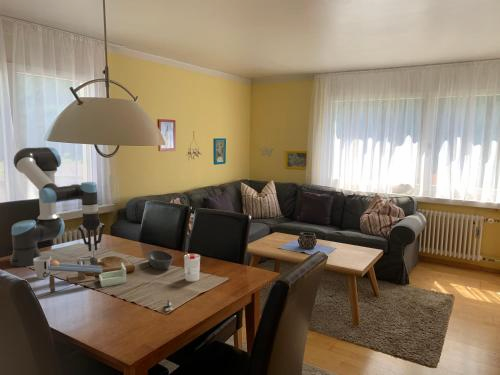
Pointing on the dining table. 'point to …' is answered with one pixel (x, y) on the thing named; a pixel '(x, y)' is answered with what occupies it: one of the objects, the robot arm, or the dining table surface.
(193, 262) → the white can
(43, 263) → the cup
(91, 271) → the lever
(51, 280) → the stand
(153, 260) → the bowl
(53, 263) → the ball
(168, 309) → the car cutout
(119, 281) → the box
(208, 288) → the dining table surface
